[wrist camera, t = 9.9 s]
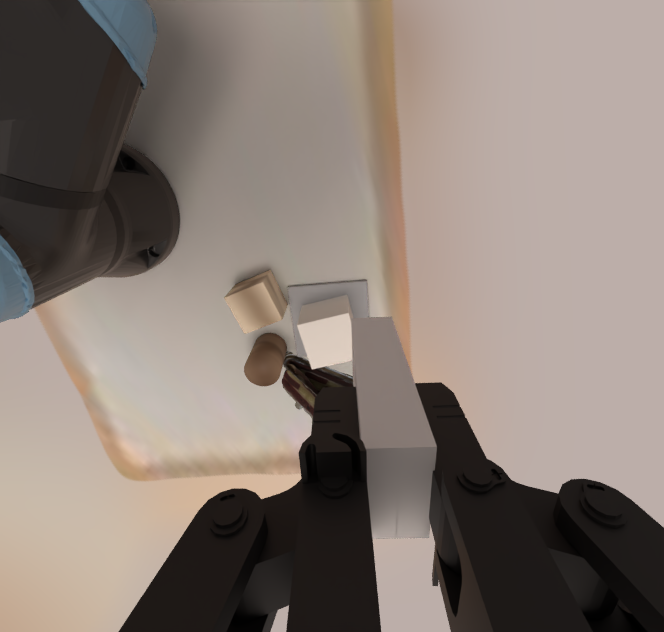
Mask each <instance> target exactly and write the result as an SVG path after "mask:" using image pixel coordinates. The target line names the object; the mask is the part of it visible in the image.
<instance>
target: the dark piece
mask: <svg viewBox="0 0 664 632" xmlns="http://www.w3.org/2000/svg"><path fill="white" fill-rule="evenodd" d="M283 365H284V367H285V368H286V369H287V371H286V372H285V374H284V377H283V379H282V384H283V388H284V389H285V390H286V392H287V393H288V394H289V395H290V396H291V397H292V398H293V399H294V400H295V401H296V403H295V406H296V408H297V409H301V408H303V409H304V410H305V412H307V413H308V414H309V415H310V416H311V418H312V424H313V413H314V402H315V397H316V396H317V395H318V393H319V392H320V391H321V389H322V388H325V387H354V386H353V376H350V375H348V374H344V373H341V372H338V371H336V370H332V369H330V368H327V367H326V366H325V367H321V368H316V369H311V366H310V363H309V361H308V360H306V359H303V358H301V357H297V356H295V355H294V354H293V353H291V352H288V353H286V355H285V358H284V362H283Z"/></svg>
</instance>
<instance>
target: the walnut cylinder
mask: <svg viewBox="0 0 664 632" xmlns="http://www.w3.org/2000/svg"><path fill="white" fill-rule="evenodd" d="M286 351H287V346H286V343H285V341H284V340H283V338H281V337H280V336H279V335H277V334H273V333H266V334H263V335H261V336H260V337H258V339H257V340H256V342H255V344H254V346H253V349H252V351H251V353H250V355H249V357H248V359H247V362H246V364H245V367H244V372H245V375H246V377H247V378H248V380H249V381H251V382H252V383H254V384H256V385H259V386H269V385H272V384H274V383H275V382H276V381H277V380H278V379H279V376H280V373H281V369H282V366H283V362H284V358H285V355H286Z"/></svg>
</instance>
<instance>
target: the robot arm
mask: <svg viewBox="0 0 664 632" xmlns="http://www.w3.org/2000/svg"><path fill="white" fill-rule="evenodd" d="M156 39H157V25H156V20H155V17H154V14H153V11H152V9H151V7H150V6H149V4H148V2H147V1H146V0H0V322H3V321H6V320H9V319H16V318H19V317H21V316H23V315H25V314H26V313H28V312H29V310H30V309H32V308H34V307H36V306H39V305H41V304H43V303H45V302H47V301H49V300H51V299H53V298H55V297H57V296H59V295H61V294H64V293H66V292H68V291H70V290H72V289H74V288H76V287H78V286H80V285H82V284H84V283H86V282H88V281H91V280H93V279H94V278H97V277H130V276H134V275H138V274H141V273H144V272H146V271H148V270H149V269H151V268H153V267H155V266H157V265H158V264H160V263H161V262H162V261H163V260H164V259H165V258H166V257H167V256H168V255H169V254H170V252H171V251H172V249H173V247H174V245H175V243H176V240H177V237H178V232H179V211H178V206H177V202H176V199H175V196H174V194H173V191H172V189H171V187H170V185H169V183H168V182H167V180H166V178H165V177H164V176H163V174H162V173H161V172H160V170H159V169H158V168H157V167H156V166H155V165H154V164H153V163H152V162H151V161H150V160H149V159H148V158H147V157H145V156H144V155H143V154H141V153H140V152H138V151H137V150H135V149H133V148H131V147H130V146H127V145H125V144H123V142H124V139H125V136H126V133H127V130H128V127H129V124H130V122H131V119H132V116H133V113H134V110H135V107H136V104H137V101H138V98H139V96H140V93H141V90H142V89H145V88H146V86H147V77H146V74H147V70H148V67H149V64H150V60H151V57H152V53H153V50H154V46H155V43H156ZM351 328H352V360H353V386H354V387H325V388H322V389H321V391H320V392H319V393H318V395H317V396H316V397H315V402H314V413H313V424H312V432H311V436H310V437H309V438H308V439H307V440H306V441H305V442H303V443H302V446H301V449H300V451H299V459H300V468H301V477H302V479H301V480H300V481H299V482H298V483H297V484H296V485H295V486H293V487H292V488H290V489H289V490H287V491H284V492H282V493H280V494H277V495H274V496H271V497H268V498H264V499H260V497H259V496H258V495H257V494H256V493H255V492H252V491H250V490H247V489H230V490H227V491H224V492H221V493H219V494H217V495H216V496H214V497H213V498H211V499H209V500H208V501H207V502H206V503H205V504H204V505H203V507H202V508H201V509H200V510H199V511H198V513H197V514H196V515H195V517H194V519H193V520H192V522H191V523H190V525H189V526H188V528H187V529H186V531H185V532H184V534H183V535H182V537H181V538H180V540H179V541H178V543H177V544H176V546H175V547H174V549H173V550H172V552H171V553H170V555H169V557H168V558H167V560H166V561H165V562H164V564H163V566H162V567H161V569H160V570H159V571H158V573H157V575H156V576H155V578H154V579H153V581H152V582H151V584H150V585H149V587H148V588H147V590H146V591H145V593H144V595H143V596H142V597H141V599H140V600H139V602H138V603H137V605H136V606H135V608H134V609H133V611H132V612H131V614H130V615H129V617H128V618H127V620H126V621H125V623H124V625H123V626H122V627H121V629H120V631H119V632H270V631H271V628H272V625H273V622H274V619H275V616H276V613H277V610H278V609H281V608H283V607H286V606H288V605H289V612H288V621H287V631H286V632H381V625H380V615H379V604H378V593H377V583H376V572H375V563H374V551H373V542H372V541H373V540H372V539H385V538H429V531H430V524H431V528H432V532H433V536H434V540H435V552H434V562H433V573H432V577H433V578H432V581H433V586H438V579H439V582H440V587H441V592H442V595H443V600H444V604H445V608H446V612H447V617H448V621H449V625H450V629H451V632H664V528H663V527H662V526H661V525H660V524H659V523H658V522H656V521H655V520H654V519H653V518H651V517H650V516H649V515H648V514H647V513H646V512H645V511H643V510H642V509H641V508H640V507H639V506H638V505H637V504H635V503H634V502H633V501H632V500H631V499H629V498H628V497H626V496H625V495H623V494H622V493H621V492H619V491H618V490H616V489H614V488H611V487H609V486H607V485H605V484H603V483H600V482H596V481H592V480H588V479H574V480H570V481H568V482H566V483H564V484H562V487H561V489H560V491H559V494H557V493H554V492H549V491H545V490H541V489H537V488H532V487H528V486H525V485H522V484H519V483H516V482H514V481H512V480H511V479H510V478H509V477H508V475H507V474H506V473H505V472H504V470H503V469H502V468H501V467H499V466H498V465H496V464H495V463H494V462H492V461H490V460H488V459H487V458H486V456H485V454H484V452H483V450H482V449H481V446H480V444H479V443H478V441H477V438H476V437H475V435H474V433H473V431H472V429H471V427H470V425H469V423H468V421H467V419H466V418H465V415H464V413H463V411H462V409H461V407H460V405H459V403H458V401H457V399H456V397H455V395H454V393H453V392H452V391H451V390H450V389H448V388H447V387H446V386H445V385H444V384H442V383H415V382H414V380H413V377H412V374H411V371H410V368H409V365H408V362H407V359H406V357H405V354H404V351H403V348H402V345H401V342H400V339H399V336H398V334H397V331H396V328H395V325H394V322H393V319H392V317H370V318H351Z"/></svg>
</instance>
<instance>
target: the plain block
mask: <svg viewBox="0 0 664 632" xmlns="http://www.w3.org/2000/svg"><path fill="white" fill-rule="evenodd" d="M351 318H353V314H352V310H351V307H350V303H349V299H348V295H343V296H339V297H335V298H331V299H327V300H323V301H319V302H315V303H311V304H307V305H303V306H302V307H301V311H300V315H299V319H298V323H297V327H298V330H299V333H300V336H301V339H302V342H303V345H304V348H305V351H306V354H307V357H308V360H309V363H310V366H311V369H316V368H321V367H325V366H330V365H334V364H339V363H343V362H348V361H352V328H351Z"/></svg>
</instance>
